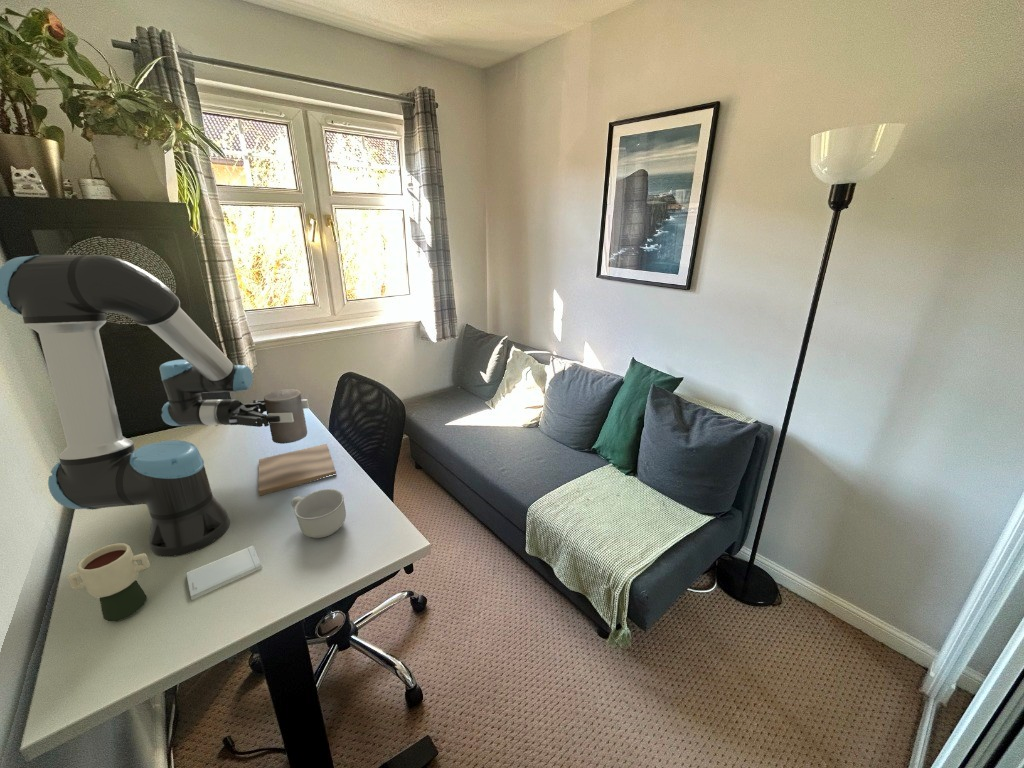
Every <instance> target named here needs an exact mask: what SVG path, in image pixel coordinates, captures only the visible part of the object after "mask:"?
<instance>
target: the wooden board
mask: <svg viewBox="0 0 1024 768" xmlns="http://www.w3.org/2000/svg"><path fill="white" fill-rule="evenodd" d="M332 458H333V457H332V456H331V452H330V450H329V446H328V443H325V444H321V445H320V444H319V445H316V446H311V447H306V448H303V449H297V450H294V451H289V452H285V453H281V454H277V455H275V454H274V455H272V456H268V457H267V456H266V457H262V458H259V459H258V495H259V496H263V495H267V494H272V493H275V492H278V491H282V490H286V489H290V488H294V487H298V486H300V484H302V485H304V484H303V483H306V484H308V483H307V482H309V483H311V482H310V481H313V482H315V481H314V480H317V479H320V478H323V477H326V476H329V475H333V474H336V475H337V471H336V467H335V465H334V461H333V459H332ZM317 481H318V480H317ZM297 485H298V486H297Z"/></svg>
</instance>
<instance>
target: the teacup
mask: <svg viewBox="0 0 1024 768" xmlns="http://www.w3.org/2000/svg"><path fill="white" fill-rule="evenodd" d="M344 499H345V497H344V494H343V493H342V491H340V490H337V489H332V488H325V489H324V488H323V489H320V490H316V491H313V492H310V493H309V494H307V495H305V496H304V497H301V496H299V495H298V496H295V497H293V499H292V500H291V502H290V503H291V507H292V508H293V511H294V514H295V516H296V521H297V524H298V526H299V529H300V531H301V532H302V534H304V535H305V536H307V537H308V538H309V537H310V538H313V539H314V538H318V539H319V538H320V539H321V538H327V537H329V536H331V535H333V534H335V533H336V532H337V531H339V529H340V528H341V527H342V526H343V525H344V523H345V521H346V518H347V517H346V516H347V512H346V505H345V500H344Z"/></svg>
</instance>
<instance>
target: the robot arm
mask: <svg viewBox="0 0 1024 768" xmlns="http://www.w3.org/2000/svg"><path fill="white" fill-rule="evenodd" d="M0 303H2V304H3V305H4V306H6V309H8V310H9V311H11V312H12V313H15V314H18V315H20V316H22V320H23V323H24V326H26V327H28V328H29V329H31V330H33V331H35V332H36V333H38V337H39V341H40V344H41V348H42V353H43V355H44V359H45V363H46V368H47V372H48V376H49V380H50V383H51V387H52V392H53V395H54V399H55V402H56V407H57V410H58V414H59V418H60V423H61V427H62V429H63V434H64V438H65V443H66V447H65V448H64V450H63V451H62V452H61V453H59V455H58V459H59V461H58V462H57V463H55V465H54V466H53V467H52V468H51V470H50V473H51V474H52V475H50V476H48V480H47V484H48V489H49V490H48V491H49V493H50V495H51V496H52V498H53V500H55V501H56V502H57V503H58V504H60V505H61V506H63V507H65V508H69V509H72V510H98V509H105V508H117V507H126V506H127V507H128V506H137V505H146V507H147V510H148V512H149V515H150V518H151V522H150V531H149V538H148V542H149V546H150V549H151V551H152V553H153V554H154V555H155V556H159V557H166V558H167V557H168V558H170V557H178V556H183V555H187V554H190V553H193V552H196V551H198V550H200V549H203V548H206V547H207V546H208V545H209V546H210V544H212V543H214V542H215V541H217V540H218V539H219V538H221V537H222V536H223V535H224V534H225V533H226V532H227V530H228V528H229V527H230V522H231V521H230V518H229V514H228V513H227V511H226V510H225V508H224V507H223V506H222V505H221V504H220V503H219V501H217V499H216V498H215V497H214V495H213V491H212V489H211V486H210V485H211V484H210V481H209V478H208V474H207V471H206V467H205V461H204V459H203V457H202V456H201V453H200V451H199V448H198V447H197V446H196V445H195V444H193V443H191V442H190V441H186V440H179V439H175V440H174V439H169V440H168V439H167V440H161V441H159V442H151V443H148V444H146V445H142V446H140V447H138V448H137V449H135V445H134V441H133V440H131V439H129V438H126V437H125V436H123V433H122V432H123V431H122V428H121V424H120V420H119V415H118V411H117V410H118V409H117V406H116V403H115V397H114V392H113V388H112V384H111V380H110V379H111V378H110V375H109V371H108V366H107V362H106V358H105V352H104V349H103V344H102V339H101V335H100V329H101V328H102V327H103V326H104V325H105V324H106V323H107V316H106V314H118V315H123V316H126V317H129V318H130V319H131V320H132V321H133V322H135V323H136V324H138V325H140V326H146V327H148V328H149V330H151V331H152V332H153V333H155V335H157V336H158V337H159V338H160V339H162V341H164V342H165V343H166V344H167V345H169V347H170V348H172V350H174V351H175V352H176V353H177V354H179V355H180V356H181V357H182V358H183V359H175V360H169V361H166V362H164V363H161V364H160V365H159V372H160V377H161V381H162V384H163V385H162V386H163V387H164V390H165V393H166V395H167V400H168V401H167V402H166V403H164V404H163V406H162V408H161V414H160V416H161V419H162V421H163V422H164V423H165V424H166V425H169V426H173V427H174V426H175V427H190V426H191V427H193V426H194V427H195V426H215V427H218V426H221V425H223V426H228V425H229V426H238V425H239V426H246V427H258V428H260V427H263V426H264V427H265V428H266V427H270V426H269V423H283V422H294V419H293V414H292V413H268V416H267V413H266V412H267V411H266V407H265V402H264V398H262V399H253V400H252V403H251V402H246V403H244V404H243V403H242V402H241V401H240V400H239V399H236V398H235V399H234V398H231V399H229V398H228V399H222V398H221V399H203V398H202V394H210V393H231V392H233V393H236V392H243V391H247V390H249V389H251V387H252V385H253V383H254V375H253V371H252V369H251V368H250V367H249V366H248V365H245V364H244V365H243V364H242V365H241V364H234V363H233V362H232V361H231V360H230V359H229V358H228V357H227V356H226V355H225V353H224V352H222V350H221V349H220V348H219V347H218V346H217V345H216V344H215V343H214V342H213V340H212V339H210V338H209V336H207V334H206V333H205V332H204V331H203V330H202V329H201V327H199V325H197V324H196V323H195V321H194V320H193V319H192V318H191V317H190V316H189V315H188V314H187V313H186V312H185V311H184V310H183V309H182V308H181V301H180V299H179V297H178V296H177V295H176V294H175V293H174V292H173V291H172V290H171V289H170V288H169V287H168V286H167V285H166V284H165V283H164V282H162V281H161V280H160V279H158V277H156V276H154V275H153V274H151V273H149V272H148V271H146V270H145V269H142V268H141V267H139V266H137V265H136V264H133V263H131V262H129V261H127V260H124V259H121V258H118V257H114V256H111V255H106V254H35V255H29V256H28V255H27V256H19V257H18V256H17V257H13V258H12V259H9V260H7V261H6V262H5V263H4V265H2V266H0ZM302 405H303V410H304V409H309V408H310V406H309V405H310V404H309V401H308V399H305V398H304V399H302ZM264 412H265V413H266V414H265V413H264Z"/></svg>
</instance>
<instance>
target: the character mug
mask: <svg viewBox="0 0 1024 768" xmlns="http://www.w3.org/2000/svg"><path fill="white" fill-rule="evenodd" d="M140 560H141V563H142V564H139V565H138V563H137V561H140ZM149 567H151V563H150V561H149V557H148V556H147V554H146V553H139V554H136V555H134V553H133V551H132V547H131V546H130V545H129V544H127V543H124V542H116V543H112V544H107V545H105V546H102V547H100V548H98V549H95V550H94V551H92V552H90V553H88V554H87V555H86V556H84V557H83V558H82V559H81V560H80V561H79V562H78V564H77V567H76V569H77V571H76V572H73V573H71V574H69V575H67V580H68V582H69V584H70V587H71V589H73V590H80V589H83V588H85V589H86V592H87V593H88V594H89V595H91V596H92V597H93V598H99V603H100V609H101V612H102V613H101V614H102V617H103V620H105V621H107V622H108V623H109V622H110V623H113V622H114V623H115V622H116V623H118V622H120V621H122V620H126V619H128V618H129V617H132V615H134V614H137V612H138V611H140V609H141V608H143V607H144V605H145V604H146V603H147V601H148V596H147V594H146V592H145V590H144V589H143V588H142V586H141V585H140V583H139V582H138V581H137V578H138V576H139V574H140V571H144V570H146V569H149ZM78 578H81V582H79V581H78Z"/></svg>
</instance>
